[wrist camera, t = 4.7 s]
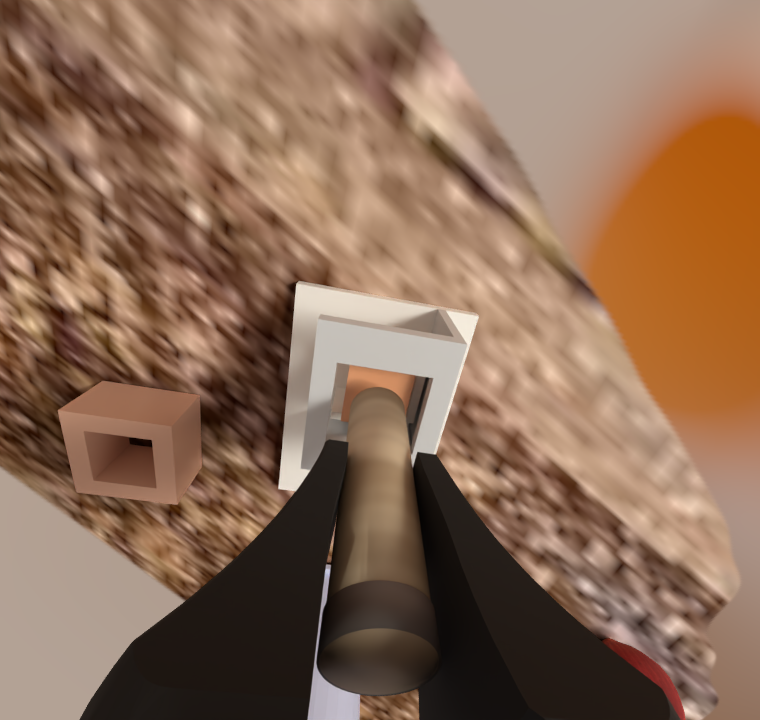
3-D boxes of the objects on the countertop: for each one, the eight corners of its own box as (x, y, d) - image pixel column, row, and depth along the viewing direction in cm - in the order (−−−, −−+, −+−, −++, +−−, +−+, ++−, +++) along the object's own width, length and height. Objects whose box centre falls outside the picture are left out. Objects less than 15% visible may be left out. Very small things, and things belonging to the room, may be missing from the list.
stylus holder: (202, 466, 22) (177, 504, 19) (114, 455, 21) (76, 492, 19) (199, 395, 20) (171, 426, 17) (102, 380, 19) (57, 410, 17)
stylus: (399, 437, 15) (425, 700, 7) (345, 429, 15) (310, 691, 7) (411, 390, 14) (456, 633, 6) (353, 381, 14) (323, 621, 6)
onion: (558, 653, 31) (615, 793, 24) (591, 615, 29) (664, 756, 21) (617, 662, 32) (689, 800, 24) (653, 625, 29) (745, 765, 22)
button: (399, 406, 18) (401, 430, 16) (344, 398, 17) (340, 421, 16) (411, 356, 17) (415, 375, 15) (352, 346, 16) (349, 365, 15)
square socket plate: (418, 499, 23) (428, 574, 19) (280, 481, 22) (256, 555, 18) (475, 312, 18) (510, 351, 13) (298, 281, 17) (270, 310, 12)
